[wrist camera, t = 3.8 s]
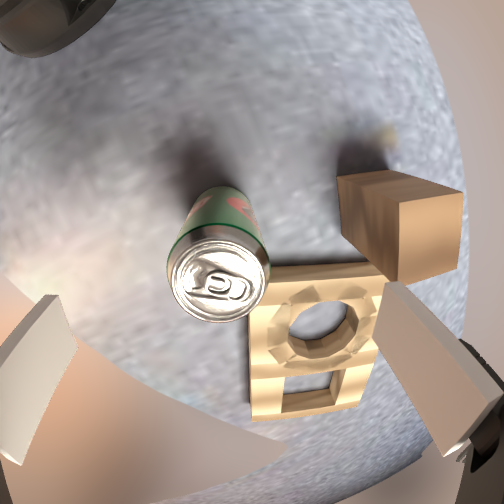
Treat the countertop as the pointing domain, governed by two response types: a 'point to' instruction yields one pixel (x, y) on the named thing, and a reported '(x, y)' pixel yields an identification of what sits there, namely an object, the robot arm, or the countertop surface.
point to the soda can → (219, 258)
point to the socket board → (313, 351)
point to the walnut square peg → (401, 223)
